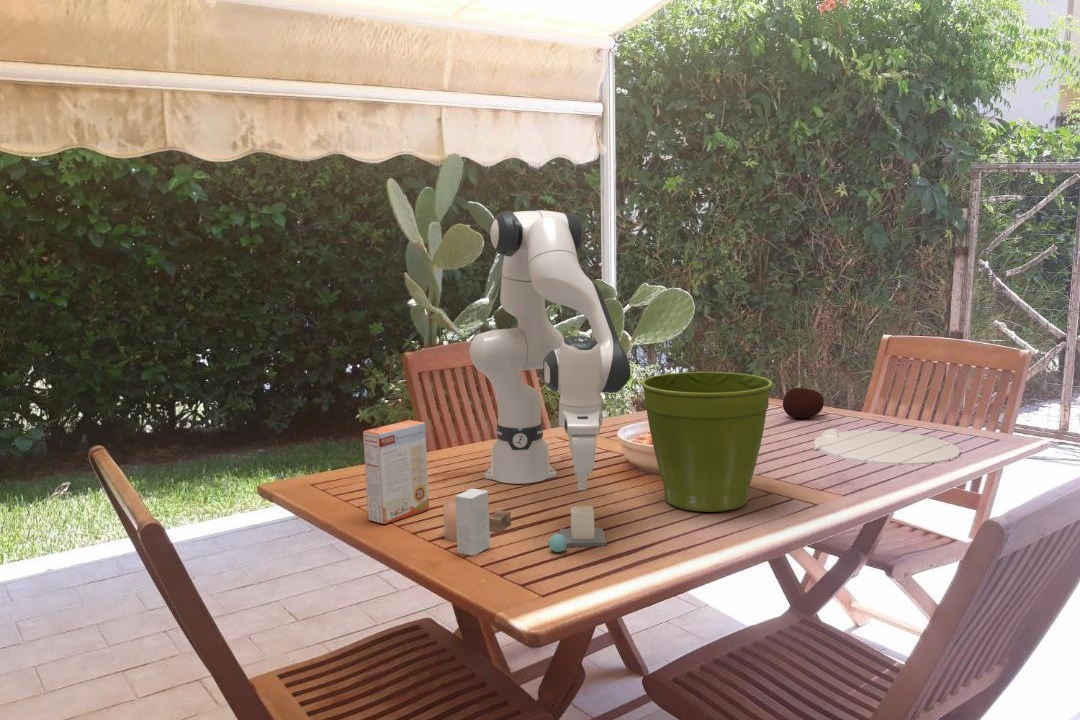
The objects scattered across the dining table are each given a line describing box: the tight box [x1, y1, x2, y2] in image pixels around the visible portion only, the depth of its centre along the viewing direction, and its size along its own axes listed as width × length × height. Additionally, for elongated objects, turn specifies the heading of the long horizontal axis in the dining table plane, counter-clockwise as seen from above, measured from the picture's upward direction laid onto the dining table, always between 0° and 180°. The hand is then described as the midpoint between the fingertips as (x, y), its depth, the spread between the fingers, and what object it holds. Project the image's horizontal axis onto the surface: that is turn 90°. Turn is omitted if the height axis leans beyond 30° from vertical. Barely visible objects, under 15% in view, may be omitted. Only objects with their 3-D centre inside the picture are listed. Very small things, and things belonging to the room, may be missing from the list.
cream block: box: [570, 505, 595, 539], centre depth 192 cm, size 4×4×6 cm
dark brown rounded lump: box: [782, 387, 825, 420], centre depth 306 cm, size 11×13×10 cm
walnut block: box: [489, 510, 512, 533], centre depth 201 cm, size 6×3×3 cm, turn 160°
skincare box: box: [454, 488, 491, 557], centre depth 186 cm, size 6×4×12 cm
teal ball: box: [548, 533, 567, 553], centre depth 185 cm, size 4×4×4 cm
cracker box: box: [362, 419, 430, 525], centre depth 209 cm, size 14×6×21 cm, turn 141°
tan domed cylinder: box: [443, 499, 457, 543], centre depth 195 cm, size 7×7×7 cm
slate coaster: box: [559, 527, 607, 548], centre depth 192 cm, size 9×9×1 cm
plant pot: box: [640, 371, 773, 513], centre depth 215 cm, size 30×30×29 cm
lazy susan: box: [813, 427, 961, 466], centre depth 266 cm, size 40×39×3 cm
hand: (580, 481), depth 191 cm, fingers open, 8 cm apart
